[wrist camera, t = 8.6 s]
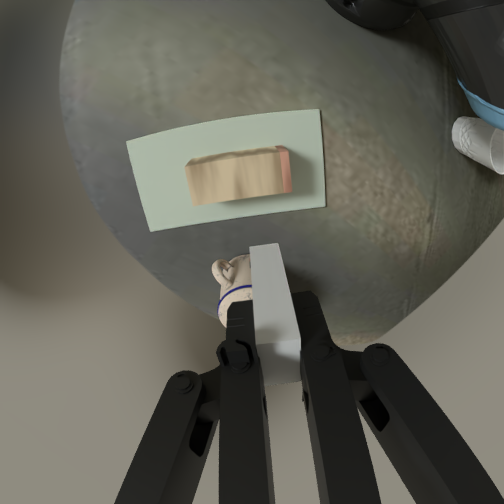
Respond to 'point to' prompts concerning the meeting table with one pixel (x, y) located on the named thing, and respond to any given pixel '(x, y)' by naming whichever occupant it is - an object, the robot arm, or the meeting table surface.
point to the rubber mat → (221, 141)
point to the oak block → (239, 175)
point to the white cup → (479, 142)
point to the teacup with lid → (233, 282)
